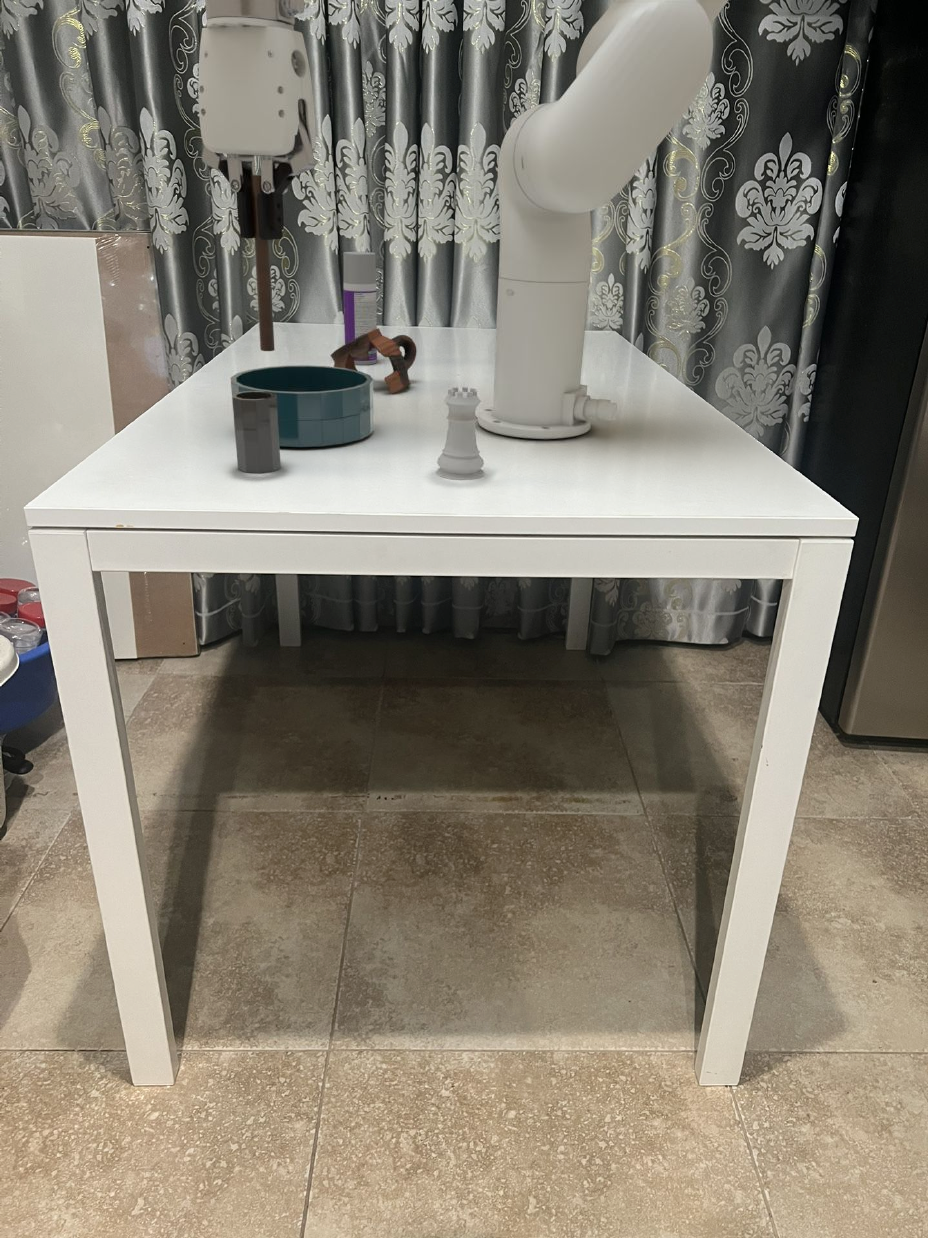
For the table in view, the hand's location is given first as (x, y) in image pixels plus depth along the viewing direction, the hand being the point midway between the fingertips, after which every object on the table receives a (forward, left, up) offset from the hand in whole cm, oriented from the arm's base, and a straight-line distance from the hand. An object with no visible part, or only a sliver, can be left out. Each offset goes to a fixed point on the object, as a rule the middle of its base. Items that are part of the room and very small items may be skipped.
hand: (261, 237), depth 88 cm
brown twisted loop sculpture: (+1, -27, -19) cm, 33 cm away
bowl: (-4, 0, -19) cm, 19 cm away
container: (+11, -41, -19) cm, 47 cm away
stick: (0, 0, -11) cm, 11 cm away
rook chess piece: (-24, +6, -19) cm, 31 cm away
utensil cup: (-7, +13, -19) cm, 24 cm away
